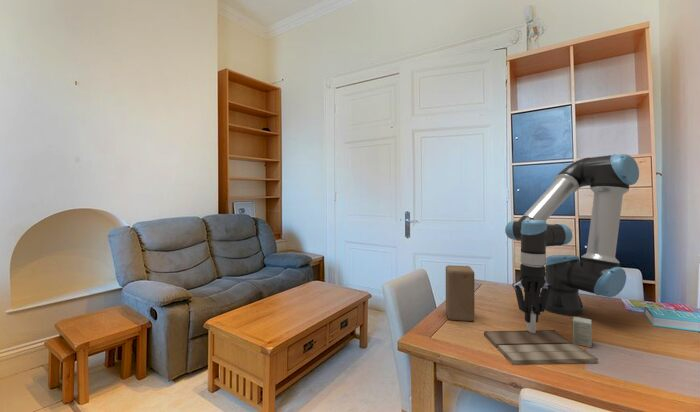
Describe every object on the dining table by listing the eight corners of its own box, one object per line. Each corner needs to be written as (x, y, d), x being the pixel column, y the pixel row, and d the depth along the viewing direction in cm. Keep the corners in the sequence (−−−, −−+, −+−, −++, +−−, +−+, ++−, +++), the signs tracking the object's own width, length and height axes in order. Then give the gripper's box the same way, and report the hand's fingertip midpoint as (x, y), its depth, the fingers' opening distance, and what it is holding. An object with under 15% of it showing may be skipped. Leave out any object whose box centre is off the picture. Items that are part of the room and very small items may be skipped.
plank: (554, 333, 110) (554, 330, 110) (572, 346, 101) (572, 341, 101) (484, 335, 109) (484, 331, 109) (496, 347, 100) (496, 343, 100)
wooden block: (474, 322, 120) (474, 271, 120) (448, 320, 122) (447, 270, 122) (470, 312, 130) (470, 265, 130) (445, 311, 132) (445, 264, 132)
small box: (591, 342, 103) (592, 319, 102) (591, 348, 99) (592, 323, 99) (572, 338, 106) (573, 315, 106) (572, 343, 102) (572, 319, 102)
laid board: (575, 347, 100) (575, 343, 100) (597, 362, 91) (597, 358, 91) (497, 349, 99) (497, 345, 99) (512, 364, 90) (512, 360, 90)
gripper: (544, 261, 111) (542, 326, 112) (508, 262, 111) (506, 326, 112) (558, 267, 104) (556, 336, 105) (519, 267, 104) (518, 336, 105)
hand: (531, 331), depth 108 cm, fingers closed
